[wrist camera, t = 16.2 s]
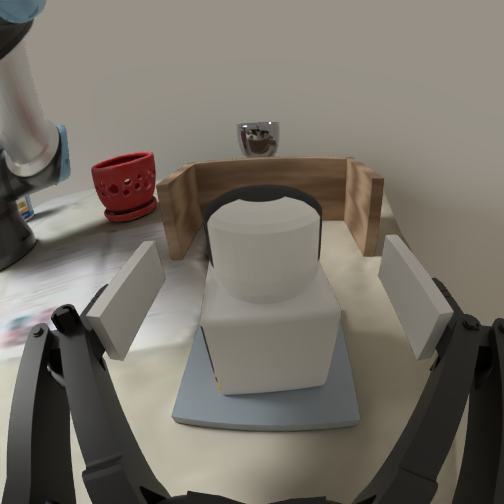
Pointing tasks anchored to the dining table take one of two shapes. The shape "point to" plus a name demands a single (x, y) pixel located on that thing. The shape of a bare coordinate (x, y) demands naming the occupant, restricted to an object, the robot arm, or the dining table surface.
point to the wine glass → (258, 139)
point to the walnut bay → (273, 173)
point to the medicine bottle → (267, 291)
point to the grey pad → (267, 398)
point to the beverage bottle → (25, 207)
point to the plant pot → (126, 185)
